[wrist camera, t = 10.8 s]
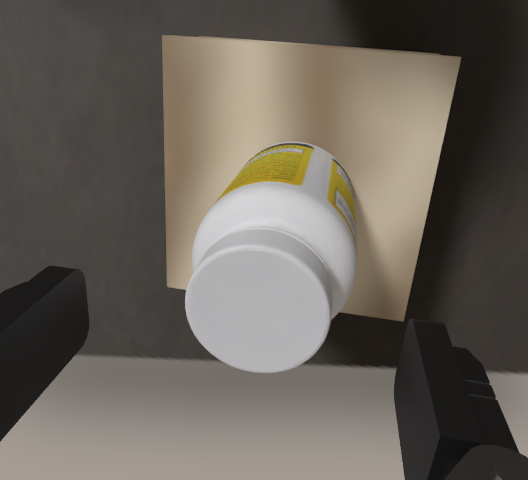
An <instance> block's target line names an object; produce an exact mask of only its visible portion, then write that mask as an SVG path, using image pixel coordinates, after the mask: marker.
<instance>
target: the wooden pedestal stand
mask: <svg viewBox="0 0 528 480" xmlns="http://www.w3.org/2000/svg"><path fill="white" fill-rule="evenodd" d="M162 51H163V101H164V152H165V202H166V252H167V287H171V288H178V289H185V290H187V286H188V283H189V280H190V278H191V276H192V274H193V268H192V248H193V243H194V240H195V236H196V233H197V230H198V228H199V226H200V224H201V222H202V220H203V219H204V217H205V216H206V214H207V212H208V211H209V209H210V208H211V207H212V206H213V204H214V203H215V202H216V201H217V200H218V198H219V197H220V196H221V195H222V193H223V192H224V191H225V190H226V188H227V187H228V186H229V185H230V183H231V182H232V181H233V180H234V179H235V177H236V176H237V175H238V173H239V172H240V171H241V169H242V168H243V167H244V165H245V164H246V163H247V162H248V161H249V160H250V159H251V158H252V157H253V156H255V155H256V154H257V153H259V152H260V151H262V150H263V149H265V148H267V147H269V146H272V145H274V144H278V143H282V142H304V143H309V144H312V145H315V146H318V147H320V148H322V149H324V150H325V151H327V152H328V153H330V154H331V155H333V156H334V157H335V158H336V159H337V160H338V161H339V162H340V163H341V165H342V166H343V167H344V169H345V170H346V172H347V174H348V176H349V178H350V180H351V183H352V186H353V190H354V196H355V218H356V242H357V270H356V278H355V282H354V286H353V289H352V291H351V294H350V296H349V298H348V299H347V301H346V303H345V305H344V306H343V307H342V309H341V310H340V311H339V312H342V313H349V314H355V315H362V316H369V317H376V318H383V319H390V320H396V321H403V322H404V317H405V313H406V308H407V303H408V299H409V294H410V290H411V285H412V280H413V276H414V271H415V267H416V262H417V258H418V253H419V248H420V244H421V239H422V235H423V230H424V226H425V221H426V216H427V212H428V207H429V203H430V198H431V194H432V189H433V184H434V180H435V175H436V171H437V166H438V162H439V157H440V152H441V148H442V143H443V139H444V134H445V130H446V125H447V120H448V116H449V111H450V107H451V102H452V98H453V93H454V88H455V84H456V79H457V75H458V70H459V66H460V61H461V57H457V56H445V55H440V54H437V53H425V52H411V51H398V50H384V49H371V48H357V47H343V46H330V45H316V44H302V43H289V42H275V41H261V40H248V39H234V38H221V37H207V36H197V37H187V36H174V35H162Z"/></svg>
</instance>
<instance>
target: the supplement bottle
mask: <svg viewBox="0 0 528 480" xmlns="http://www.w3.org/2000/svg"><path fill="white" fill-rule="evenodd" d="M192 268H193V274H192V276H191V278H190V280H189V283H188V286H187V290H186V296H185V309H186V316H187V319H188V322H189V324H190V327H191V329H192V331H193V333H194V335H195V336H196V338H197V339H198V340H199V342H200V343H201V344H202V345H203V346H204V347H205V348H206V349H207V350H208V351H209V352H210V353H211V354H212V355H214V356H215V357H216V358H218V359H219V360H221V361H223V362H224V363H226V364H228V365H230V366H233V367H236V368H238V369H242V370H245V371H249V372H256V373H276V372H282V371H286V370H289V369H292V368H294V367H297V366H298V365H300V364H302V363H304V362H305V361H307V360H308V359H310V358H311V357H312V356H313V355H314V354H315V353H316V352H317V351H318V350H319V348H320V347H321V345H322V344H323V342H324V341H325V339H326V336H327V334H328V331H329V328H330V323H331V320H332V319H333V318H334V317H335V316H336V315H337V314H338V313H339V311H340V310H341V309H342V307H343V306H344V305H345V303H346V301H347V299H348V298H349V296H350V294H351V291H352V289H353V286H354V282H355V278H356V270H357V242H356V218H355V196H354V190H353V186H352V183H351V180H350V178H349V176H348V174H347V172H346V170H345V169H344V167H343V166H342V165H341V163H340V162H339V161H338V160H337V159H336V158H335V157H334V156H333V155H331V154H330V153H328V152H327V151H325V150H324V149H322V148H320V147H318V146H315V145H312V144H309V143H304V142H282V143H278V144H274V145H272V146H269V147H267V148H265V149H263V150H262V151H260V152H259V153H257V154H256V155H255V156H253V157H252V158H251V159H250V160H249V161H248V162H247V163H246V164H245V165H244V167H243V168H242V169H241V171H240V172H239V173H238V175H237V176H236V177H235V179H234V180H233V181H232V182H231V183H230V185H229V186H228V187H227V188H226V190H225V191H224V192H223V193H222V195H221V196H220V197H219V198H218V200H217V201H216V202H215V203H214V204H213V206H212V207H211V208H210V209H209V211H208V212H207V214H206V216H205V217H204V219H203V220H202V222H201V224H200V226H199V228H198V230H197V233H196V236H195V240H194V243H193V248H192Z"/></svg>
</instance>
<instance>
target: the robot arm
mask: <svg viewBox="0 0 528 480" xmlns="http://www.w3.org/2000/svg"><path fill="white" fill-rule="evenodd" d="M88 331H89V315H88V304H87V294H86V283H85V276H84V274H83V272H82V271H81V270H78V269H71V268H64V267H58V266H48V267H47V268H45V269H44V270H42V271H41V272H40V273H38V274H37V275H36V276H35V277H33V278H32V279H31V280H29V281H28V282H24V283H22V284H19V285H17V286H14V287H12V288H10V289H7V290H5V291H3V292H2V293H1V294H0V441H1V440H2V439H3V438H4V436H5V435H6V434H7V433H8V432H9V431H10V429H11V428H12V427H13V426H14V425H15V424H16V423H17V422H18V420H19V419H20V418H21V417H22V416H23V414H24V413H25V412H26V411H27V410H28V409H29V408H30V406H31V405H32V404H33V403H34V402H35V400H37V398H38V397H39V396H40V395H41V394H42V393H43V391H44V390H45V389H46V388H47V387H48V386H49V385H50V383H51V382H52V381H53V380H54V379H55V378H56V376H57V375H58V374H59V373H60V372H61V371H62V369H63V368H64V367H65V366H66V365H67V364H68V363H69V361H70V360H71V359H72V358H73V357H74V356H75V354H76V353H77V352H78V351H79V350H80V349H81V347H82V346H83V344H84V343H85V341H86V338H87V335H88ZM489 383H490V382H489V379H488V377H487V375H486V372H485V370H484V367H483V365H482V364H481V363H480V362H479V361H478V360H477V359H476V358H475V357H474V356H473V355H472V354H471V353H470V352H469V351H468V350H467V349H465V348H459V347H453V346H452V344H451V341H450V338H449V335H448V332H447V329H446V326H445V324H444V323H439V322H432V321H425V320H418V319H409V321H408V323H407V327H406V331H405V335H404V340H403V344H402V348H401V353H400V357H399V362H398V366H397V370H396V376H395V384H394V401H395V408H396V416H397V423H398V431H399V438H400V446H401V453H402V461H403V468H404V476H405V480H528V458H527V457H526V456H524V455H522V454H520V453H519V451H518V449H517V446H516V444H515V441H514V439H513V437H512V434H511V432H510V429H509V427H508V425H507V422H506V420H505V418H504V415H503V413H502V410H501V408H500V406H499V403H498V401H497V400H495V397H496V396H495V394H494V391H493V389H492V387H491V385H489Z"/></svg>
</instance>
